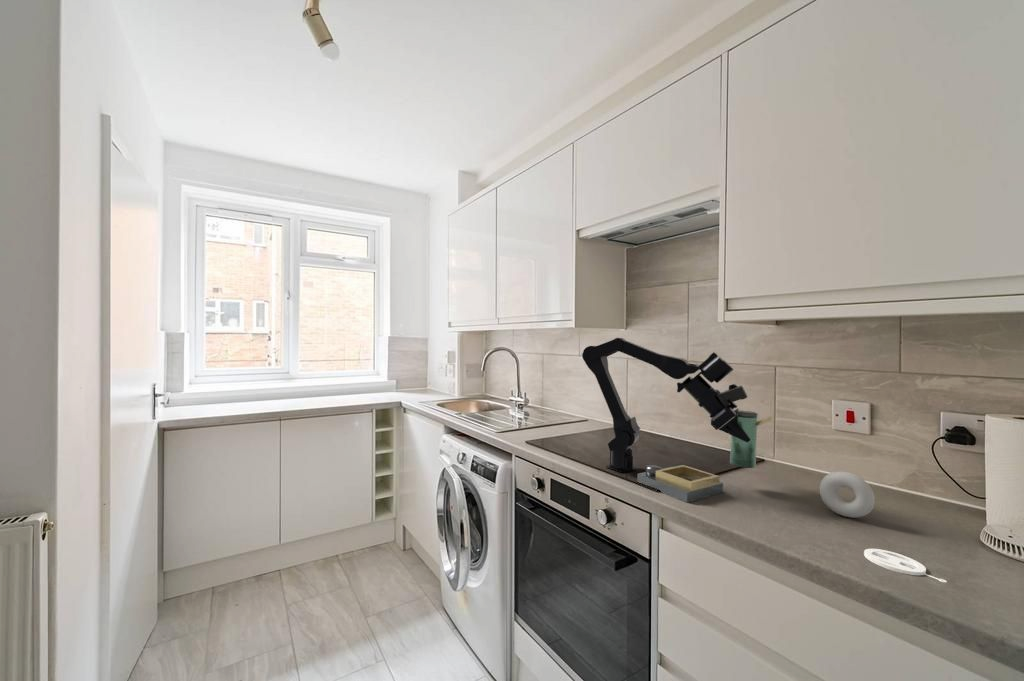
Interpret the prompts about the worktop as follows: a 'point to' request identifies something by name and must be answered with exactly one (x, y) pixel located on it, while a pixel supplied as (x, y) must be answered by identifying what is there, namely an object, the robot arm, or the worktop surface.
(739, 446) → the spout can
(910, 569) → the pendant
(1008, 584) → the worktop surface
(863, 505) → the donut
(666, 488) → the grey tray base
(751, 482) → the worktop surface
